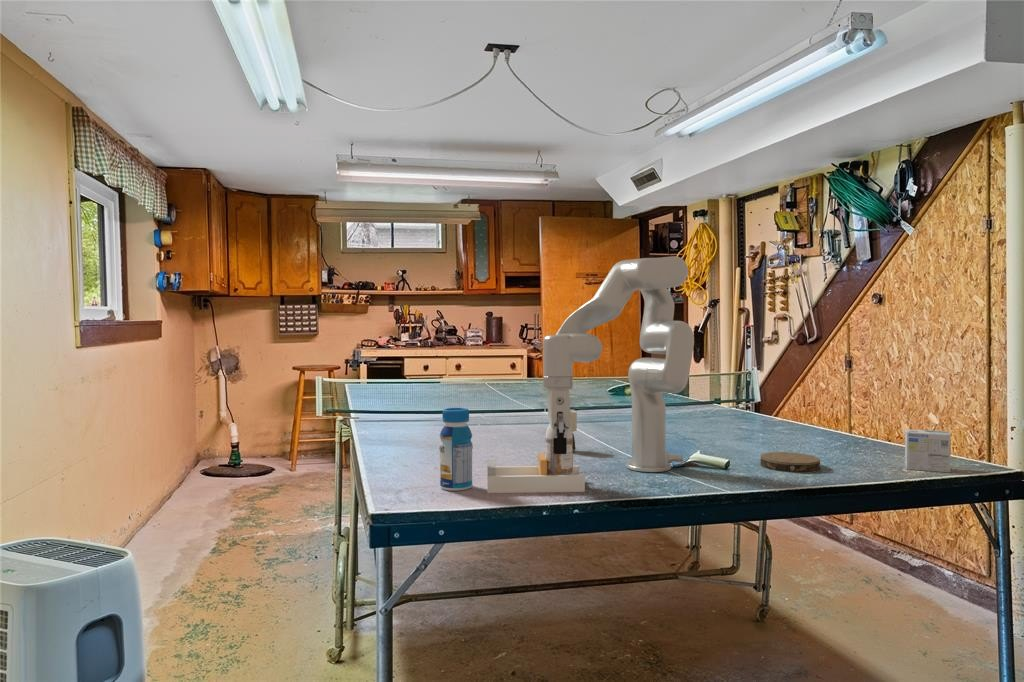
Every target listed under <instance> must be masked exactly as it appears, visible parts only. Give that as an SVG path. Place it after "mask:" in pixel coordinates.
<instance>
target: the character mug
mask: <svg viewBox="0 0 1024 682" xmlns="http://www.w3.org/2000/svg"><path fill="white" fill-rule="evenodd" d="M577 412H578V411H575V410H571V409H570V423H571V427H570V428H571V431H572V435H573V451H575V450H576V441H575V435H574V433H575V432H577V430H578V429H577V428H578V421H577V420H578V416H577V415H578V414H577Z"/></svg>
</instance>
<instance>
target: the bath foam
mask: <svg viewBox="0 0 1024 682" xmlns="http://www.w3.org/2000/svg"><path fill="white" fill-rule="evenodd" d="M557 419H558V418H557ZM548 424H549V423H548ZM565 430H566V438H567V453H566V454H554V452H553V438H555V435H554V429H552V428H551V426H550V424H549V425H548V426H547V428H546V432H545V440H544V441H545V442H544V443H545V444H544V445H545V447H544V448H545V453H544V454H545V457H546V459H547V475H573V465H574V462H573V461H574V453H573V452H574V450H573V435H572V433H573V432H572V431H571V428H570V429H568V427H566V426H565Z"/></svg>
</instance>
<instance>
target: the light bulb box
mask: <svg viewBox="0 0 1024 682" xmlns="http://www.w3.org/2000/svg"><path fill="white" fill-rule="evenodd" d="M951 453H952V452H951V433H949V432H948V431H947V430H930V429H929V430H928V429H911V428H910V429H909V428H905V429H904V467H905V469H906V470H908V471H909V470H911V471H924V472H935V473H936V472H938V473H951V464H952V463H951V462H952V461H951Z"/></svg>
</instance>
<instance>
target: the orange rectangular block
mask: <svg viewBox="0 0 1024 682" xmlns="http://www.w3.org/2000/svg"><path fill="white" fill-rule="evenodd" d="M537 466H538V475H547V459H546V457H545V453H543V452H541V453H537Z"/></svg>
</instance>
